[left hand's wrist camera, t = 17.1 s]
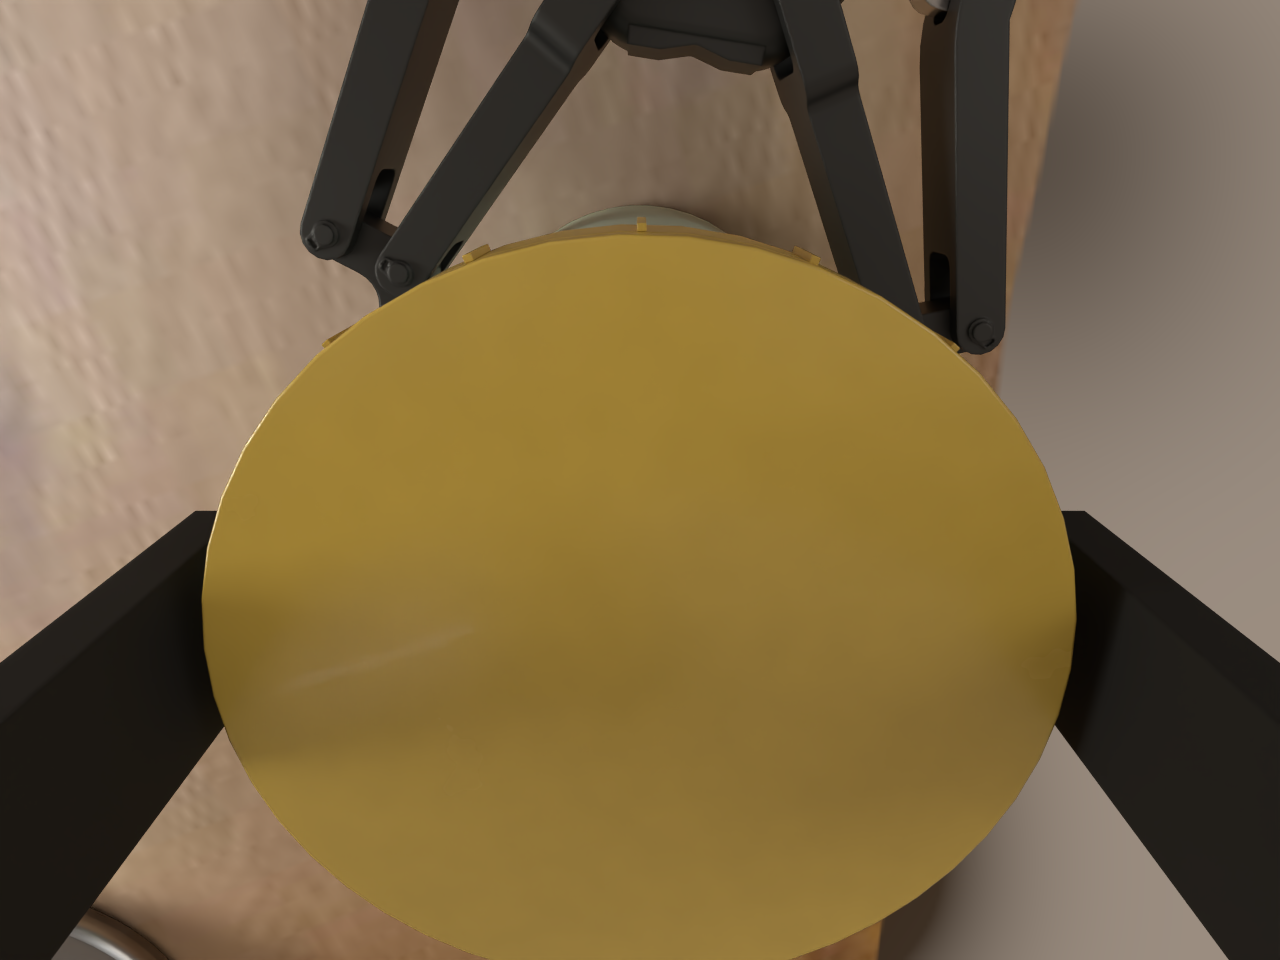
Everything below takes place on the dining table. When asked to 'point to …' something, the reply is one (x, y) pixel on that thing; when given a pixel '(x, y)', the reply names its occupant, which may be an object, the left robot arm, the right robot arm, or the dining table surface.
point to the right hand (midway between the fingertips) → (619, 545)
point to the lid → (639, 602)
